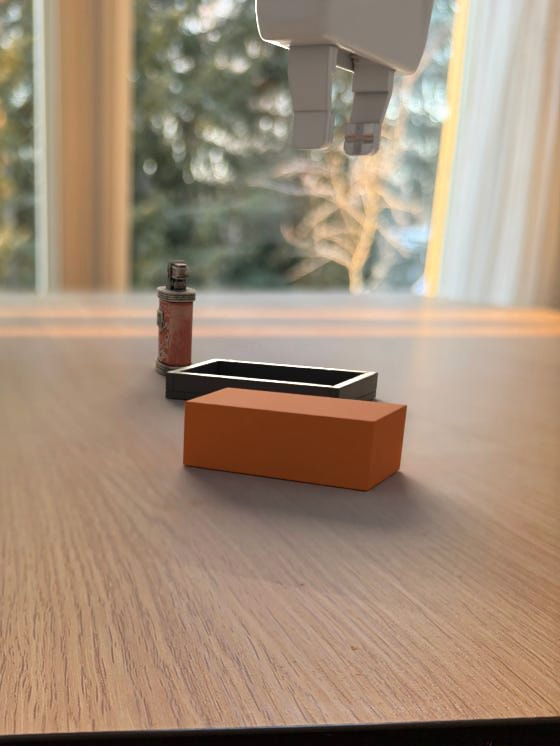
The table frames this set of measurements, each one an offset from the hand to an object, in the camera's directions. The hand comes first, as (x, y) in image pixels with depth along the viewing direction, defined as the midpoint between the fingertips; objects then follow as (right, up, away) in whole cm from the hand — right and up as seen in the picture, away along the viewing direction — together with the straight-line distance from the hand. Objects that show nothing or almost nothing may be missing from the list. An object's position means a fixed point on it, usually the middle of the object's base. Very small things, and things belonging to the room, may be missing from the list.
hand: (337, 153), depth 60 cm
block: (-1, -17, +6) cm, 18 cm away
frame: (+1, -7, +29) cm, 30 cm away
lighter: (-5, -1, +43) cm, 43 cm away
